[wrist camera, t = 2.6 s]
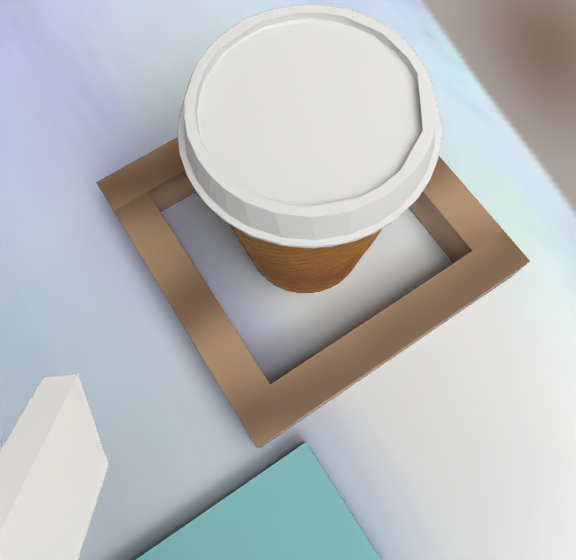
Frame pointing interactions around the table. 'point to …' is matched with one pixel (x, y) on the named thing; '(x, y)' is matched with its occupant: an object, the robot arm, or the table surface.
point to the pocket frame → (345, 351)
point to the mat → (274, 520)
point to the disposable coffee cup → (309, 138)
